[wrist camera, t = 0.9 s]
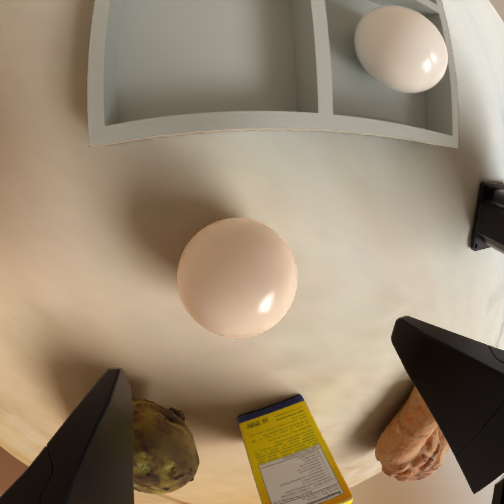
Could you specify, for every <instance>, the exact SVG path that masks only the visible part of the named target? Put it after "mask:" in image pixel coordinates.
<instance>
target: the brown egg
mask: <svg viewBox="0 0 504 504" xmlns="http://www.w3.org/2000/svg"><path fill="white" fill-rule="evenodd" d="M177 285H178V291H179V295H180V298H181V300H182V303H183V305H184V307H185V309H186V310H187V312H188V313H189V314H190V316H191V317H192V318H193V319H194V320H195V321H196V322H197V323H198V324H199V325H201V326H202V327H203V328H205V329H206V330H208V331H210V332H212V333H214V334H217V335H220V336H224V337H228V338H246V337H251V336H255V335H258V334H260V333H262V332H265V331H266V330H268V329H270V328H271V327H273V326H274V325H275V324H277V323H278V322H279V321H280V320H281V319H282V318H283V317H284V315H285V314H286V313H287V311H288V309H289V308H290V306H291V304H292V302H293V299H294V297H295V293H296V288H297V268H296V263H295V260H294V257H293V254H292V252H291V250H290V248H289V247H288V245H287V244H286V242H285V241H284V240H283V238H282V237H281V236H280V235H279V234H278V233H276V232H275V231H274V230H273V229H271V228H270V227H268V226H266V225H265V224H263V223H260V222H258V221H255V220H251V219H246V218H228V219H223V220H220V221H216V222H214V223H212V224H209V225H208V226H206V227H204V228H203V229H201V230H200V231H199V232H198V233H196V234H195V235H194V237H193V238H192V239H191V240H190V241H189V243H188V244H187V245H186V247H185V249H184V251H183V253H182V255H181V258H180V260H179V265H178V270H177Z"/></svg>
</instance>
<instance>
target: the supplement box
mask: <svg viewBox="0 0 504 504" xmlns="http://www.w3.org/2000/svg"><path fill="white" fill-rule="evenodd" d="M238 423H239V427H240V431H241V434H242V438H243V442H244V445H245V449H246V452H247V456H248V459H249V463H250V466H251V470H252V473H253V476H254V480H255V483H256V486H257V489H258V492H259V496H260V499H261V502H262V504H351V503H352V501H353V496H352V494H351V492H350V490H349V488H348V486H347V484H346V482H345V480H344V478H343V476H342V474H341V472H340V470H339V468H338V466H337V464H336V462H335V460H334V458H333V456H332V454H331V452H330V450H329V448H328V446H327V444H326V442H325V440H324V438H323V436H322V434H321V432H320V431H319V428H318V426H317V425H316V423H315V420H314V418H313V416H312V414H311V412H310V410H309V409H308V407H307V404H306V402H305V401H304V399H303V397H302V395H299V396H297V397H294V398H292V399H289V400H287V401H284V402H281V403H279V404H276V405H273V406H270V407H267V408H265V409H262V410H259V411H255V412H252V413H249V414H246V415H243V416H239V417H238Z"/></svg>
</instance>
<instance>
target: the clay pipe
mask: <svg viewBox="0 0 504 504" xmlns="http://www.w3.org/2000/svg"><path fill="white" fill-rule="evenodd" d="M448 449H449V444H448V442H447V440H446V439H445V437H444V435H443V433H442V431H441V430H440V428H439V426H438V424H437V422H436V421H435V419H434V417H433V416H432V414H431V412H430V410H429V409H428V407H427V405H426V404H425V402H424V400H423V398H422V397H421V395H420V393H419V392H418V390H417V389H416V387H415V386H414V388H413V390H412V392H411V394H410V396H409V398H408V400H407V401H406V403H405V405H404V406H403V408H402V409H401V410H400V411H398V413H397V414H396V415H395V417H394V418H393V419H392V420H391V422H390V423H389V424H388V425H387V426H386V428H385V429H384V431H383V432H382V434H381V436H380V437H379V439H378V440H377V444H376V450H375V456H376V459H377V460H378V461H380V462H381V465H382V471H383V472H384V473H385V474H387V475H388V476H390V477H395V478H396V479H397V480H399V481H406V480H421V479H424V478H426V477H428V476H429V475H431V474H432V473H434V472H435V471H436V470H437V469H438V468H439V467H440V466H441V465H442V463H443V459H444V456H445V455H446V453H447V451H448Z"/></svg>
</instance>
